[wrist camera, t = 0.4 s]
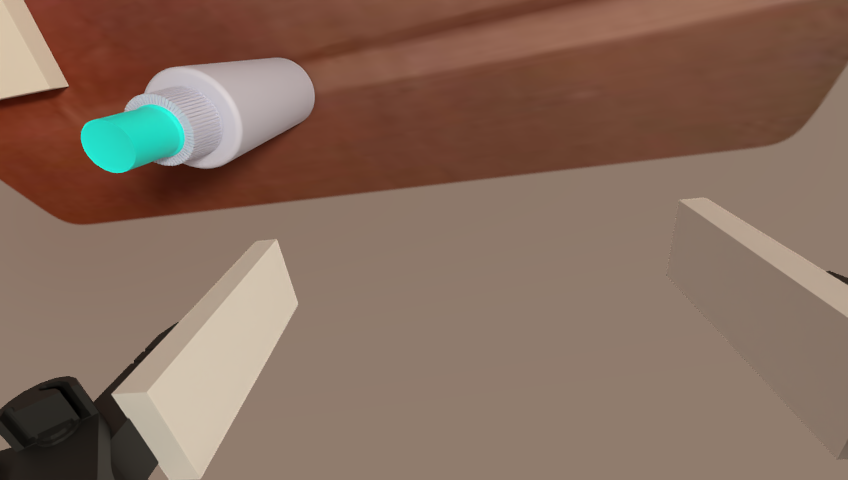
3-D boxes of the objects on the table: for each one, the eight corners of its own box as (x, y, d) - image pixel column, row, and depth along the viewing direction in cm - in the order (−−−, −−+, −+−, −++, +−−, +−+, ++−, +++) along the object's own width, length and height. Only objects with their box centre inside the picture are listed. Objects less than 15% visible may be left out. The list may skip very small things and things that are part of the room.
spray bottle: (244, 62, 37) (11, 86, 17) (306, 52, 36) (138, 66, 16) (264, 128, 39) (83, 214, 20) (323, 120, 39) (194, 201, 19)
